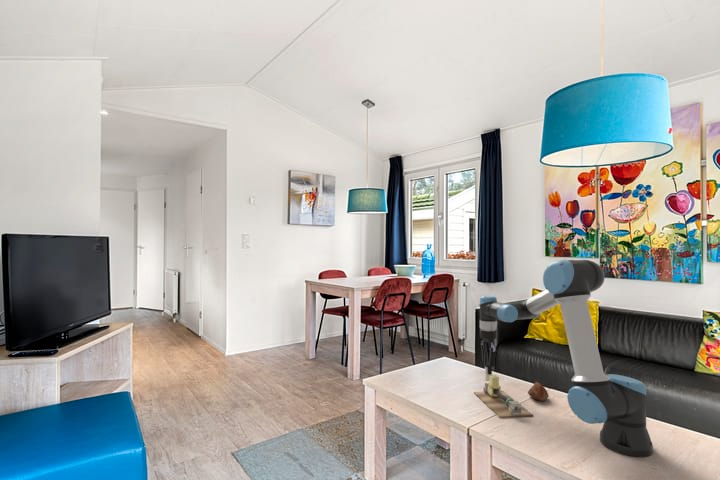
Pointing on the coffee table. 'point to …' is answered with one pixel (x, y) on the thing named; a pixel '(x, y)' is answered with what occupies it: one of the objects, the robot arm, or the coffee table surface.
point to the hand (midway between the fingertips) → (488, 380)
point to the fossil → (538, 392)
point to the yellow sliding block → (493, 385)
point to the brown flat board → (502, 404)
